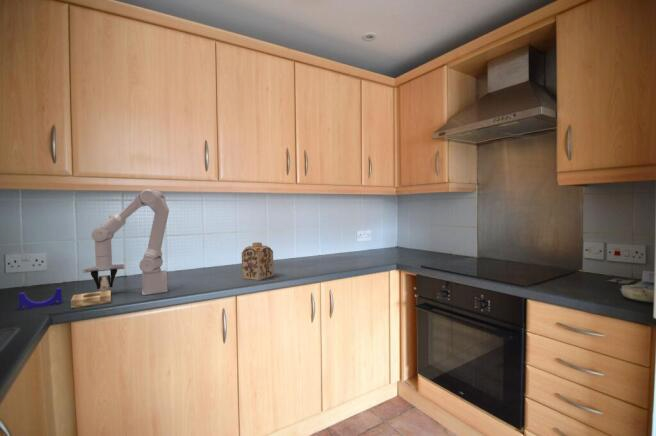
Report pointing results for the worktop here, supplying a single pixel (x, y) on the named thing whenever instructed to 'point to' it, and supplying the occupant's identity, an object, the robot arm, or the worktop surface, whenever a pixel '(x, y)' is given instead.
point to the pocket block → (91, 299)
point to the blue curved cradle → (32, 304)
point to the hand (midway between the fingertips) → (104, 287)
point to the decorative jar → (257, 262)
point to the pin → (104, 283)
